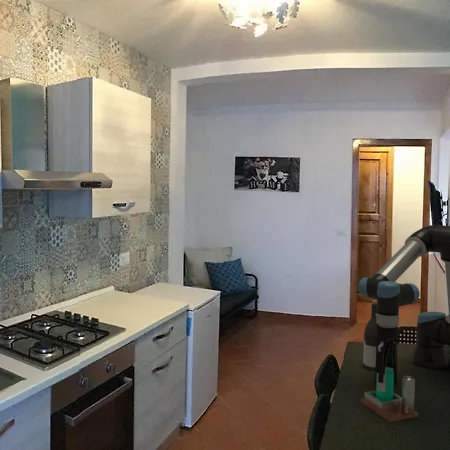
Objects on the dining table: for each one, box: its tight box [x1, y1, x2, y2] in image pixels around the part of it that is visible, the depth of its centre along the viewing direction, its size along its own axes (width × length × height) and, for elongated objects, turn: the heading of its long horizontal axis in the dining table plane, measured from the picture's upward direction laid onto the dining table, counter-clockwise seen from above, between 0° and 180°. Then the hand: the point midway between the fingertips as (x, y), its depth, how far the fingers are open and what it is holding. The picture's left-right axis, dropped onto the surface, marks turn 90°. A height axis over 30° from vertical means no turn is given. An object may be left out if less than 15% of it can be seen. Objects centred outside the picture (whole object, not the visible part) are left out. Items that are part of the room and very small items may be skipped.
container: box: [374, 335, 400, 386], centre depth 195 cm, size 9×9×20 cm
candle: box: [375, 369, 394, 401], centre depth 173 cm, size 6×6×12 cm
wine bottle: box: [362, 299, 377, 372], centre depth 210 cm, size 8×8×30 cm
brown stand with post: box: [360, 375, 420, 423], centre depth 171 cm, size 12×16×14 cm
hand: (384, 387), depth 173 cm, fingers closed on candle, 6 cm apart
